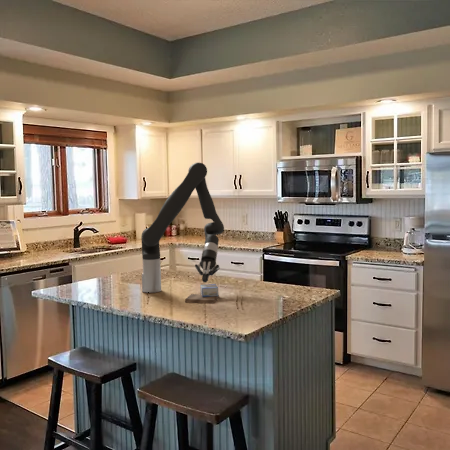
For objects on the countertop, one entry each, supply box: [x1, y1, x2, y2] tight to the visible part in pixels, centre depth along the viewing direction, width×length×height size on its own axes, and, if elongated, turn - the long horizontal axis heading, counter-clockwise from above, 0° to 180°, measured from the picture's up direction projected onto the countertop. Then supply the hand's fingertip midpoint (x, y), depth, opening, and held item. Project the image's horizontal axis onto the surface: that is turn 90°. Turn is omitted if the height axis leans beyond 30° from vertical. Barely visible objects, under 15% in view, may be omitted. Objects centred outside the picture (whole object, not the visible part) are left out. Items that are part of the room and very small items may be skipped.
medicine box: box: [199, 283, 219, 297], centre depth 241 cm, size 8×4×9 cm
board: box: [184, 293, 220, 304], centre depth 237 cm, size 14×11×2 cm
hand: (204, 281), depth 242 cm, fingers closed
